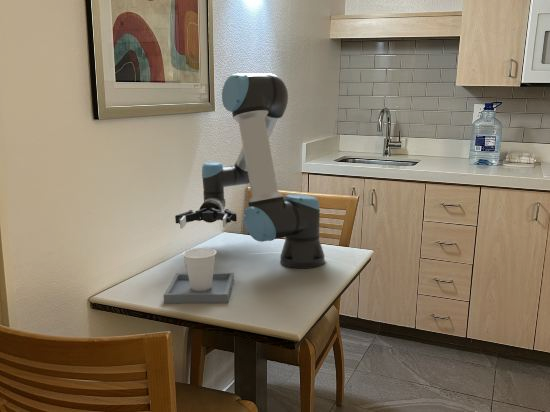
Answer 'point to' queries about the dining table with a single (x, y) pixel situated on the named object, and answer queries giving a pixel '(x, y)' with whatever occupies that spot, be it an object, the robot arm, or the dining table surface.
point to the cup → (200, 267)
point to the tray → (184, 294)
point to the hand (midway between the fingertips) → (202, 223)
